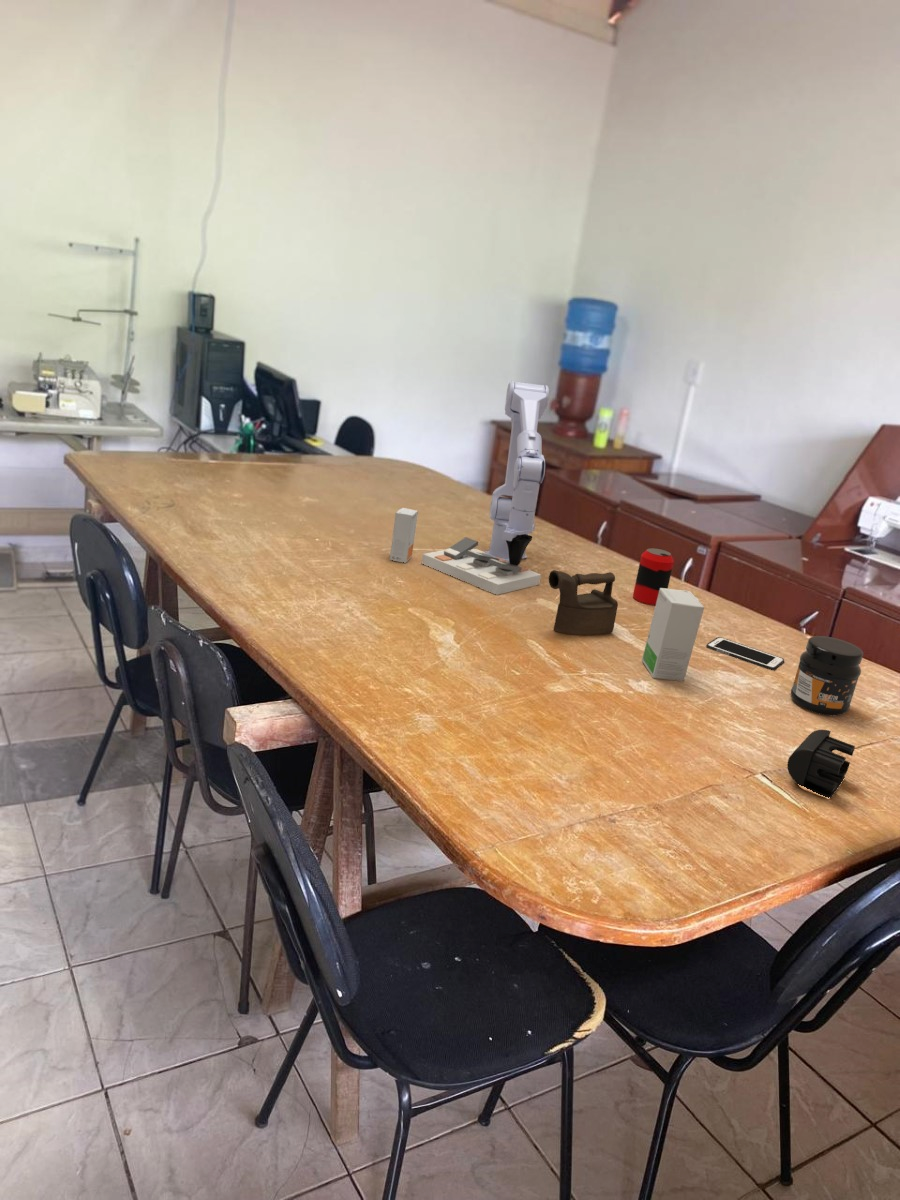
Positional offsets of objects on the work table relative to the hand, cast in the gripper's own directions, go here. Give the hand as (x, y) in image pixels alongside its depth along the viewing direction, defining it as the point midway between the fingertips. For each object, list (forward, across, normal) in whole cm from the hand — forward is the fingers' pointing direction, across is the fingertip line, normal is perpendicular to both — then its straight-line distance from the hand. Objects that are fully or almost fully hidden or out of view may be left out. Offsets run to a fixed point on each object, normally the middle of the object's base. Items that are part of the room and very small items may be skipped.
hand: (514, 564), depth 211 cm
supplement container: (+5, +21, +72) cm, 75 cm away
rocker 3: (0, +3, -1) cm, 3 cm away
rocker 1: (0, -1, -14) cm, 15 cm away
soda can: (+4, -14, +30) cm, 33 cm away
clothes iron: (+5, +18, +23) cm, 29 cm away
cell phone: (+5, +5, +56) cm, 56 cm away
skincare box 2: (+5, +27, +44) cm, 52 cm away
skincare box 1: (+4, +6, -27) cm, 28 cm away
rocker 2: (0, +1, -8) cm, 8 cm away
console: (+4, +1, -8) cm, 9 cm away
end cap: (+5, +52, +74) cm, 91 cm away
